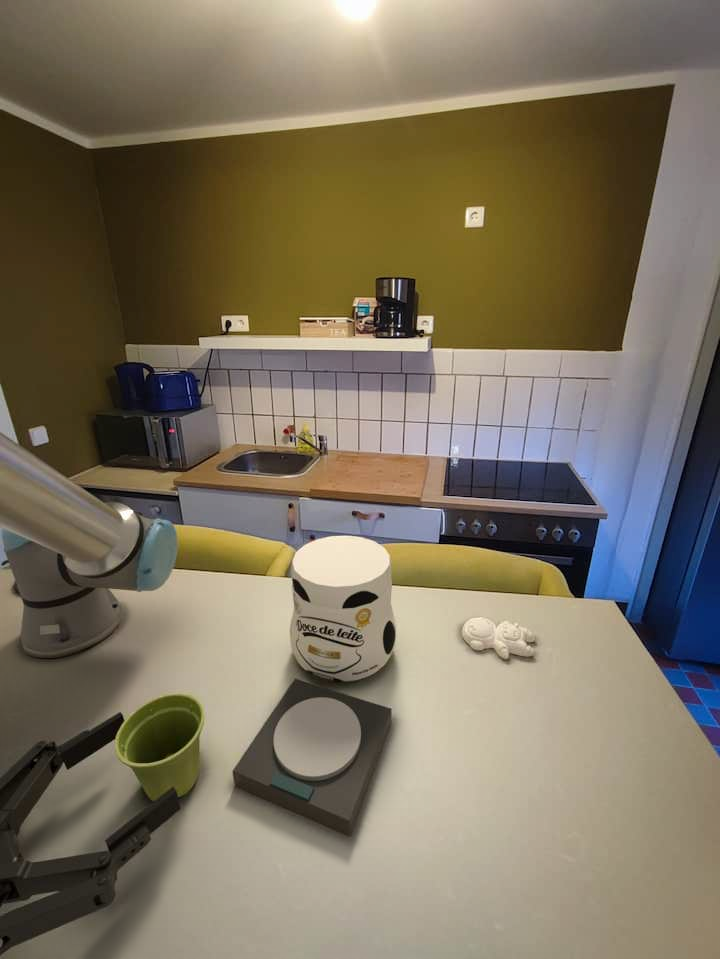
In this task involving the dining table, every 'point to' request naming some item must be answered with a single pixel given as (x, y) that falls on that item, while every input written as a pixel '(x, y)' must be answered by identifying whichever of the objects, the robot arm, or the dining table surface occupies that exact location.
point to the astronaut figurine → (498, 637)
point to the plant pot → (163, 743)
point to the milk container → (342, 608)
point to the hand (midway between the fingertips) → (148, 755)
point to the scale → (316, 754)
